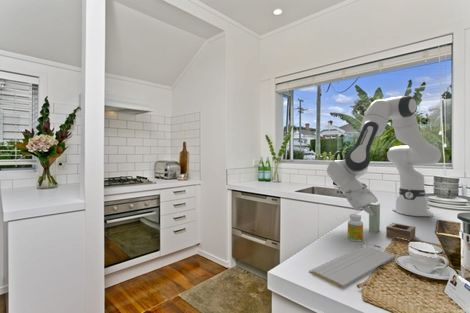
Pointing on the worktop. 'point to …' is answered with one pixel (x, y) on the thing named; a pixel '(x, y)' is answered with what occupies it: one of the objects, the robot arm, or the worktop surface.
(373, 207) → the sage green tall block
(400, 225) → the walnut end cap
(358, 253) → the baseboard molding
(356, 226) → the supplement bottle
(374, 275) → the worktop surface
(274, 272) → the worktop surface
